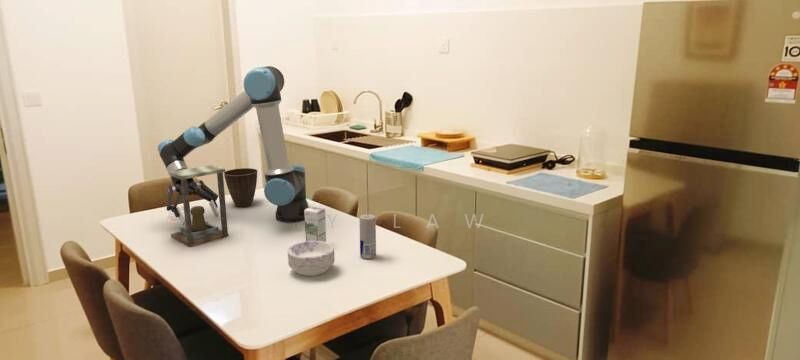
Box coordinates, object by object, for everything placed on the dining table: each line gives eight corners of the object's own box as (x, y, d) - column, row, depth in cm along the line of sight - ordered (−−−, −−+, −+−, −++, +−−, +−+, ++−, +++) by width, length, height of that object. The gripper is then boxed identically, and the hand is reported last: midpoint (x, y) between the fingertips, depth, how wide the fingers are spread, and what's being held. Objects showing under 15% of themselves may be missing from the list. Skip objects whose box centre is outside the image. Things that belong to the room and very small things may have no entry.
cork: (204, 236, 212) (202, 209, 210) (189, 236, 213) (186, 209, 210) (210, 231, 218) (207, 204, 216) (195, 231, 218) (192, 204, 216)
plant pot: (220, 208, 251) (217, 174, 247) (235, 199, 266) (232, 167, 262) (251, 210, 249) (249, 176, 245) (264, 201, 263) (262, 168, 259)
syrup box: (327, 244, 207) (325, 207, 204) (318, 249, 202) (316, 211, 198) (314, 241, 210) (312, 205, 206) (305, 247, 204) (303, 209, 201)
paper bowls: (314, 284, 173) (313, 260, 171) (279, 273, 181) (277, 251, 179) (344, 267, 186) (343, 245, 184) (309, 258, 194) (308, 237, 192)
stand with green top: (210, 226, 227) (205, 162, 220) (230, 236, 216) (225, 168, 209) (169, 237, 215) (162, 169, 209) (188, 247, 204) (181, 176, 197)
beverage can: (378, 254, 197) (377, 214, 193) (372, 260, 192) (371, 219, 188) (363, 252, 199) (363, 213, 195) (357, 258, 193) (356, 217, 190)
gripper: (207, 175, 230) (227, 217, 223) (146, 185, 213) (166, 231, 206) (212, 164, 225) (233, 207, 218) (150, 174, 208) (170, 221, 201)
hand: (201, 219), depth 212 cm, fingers open, 13 cm apart
